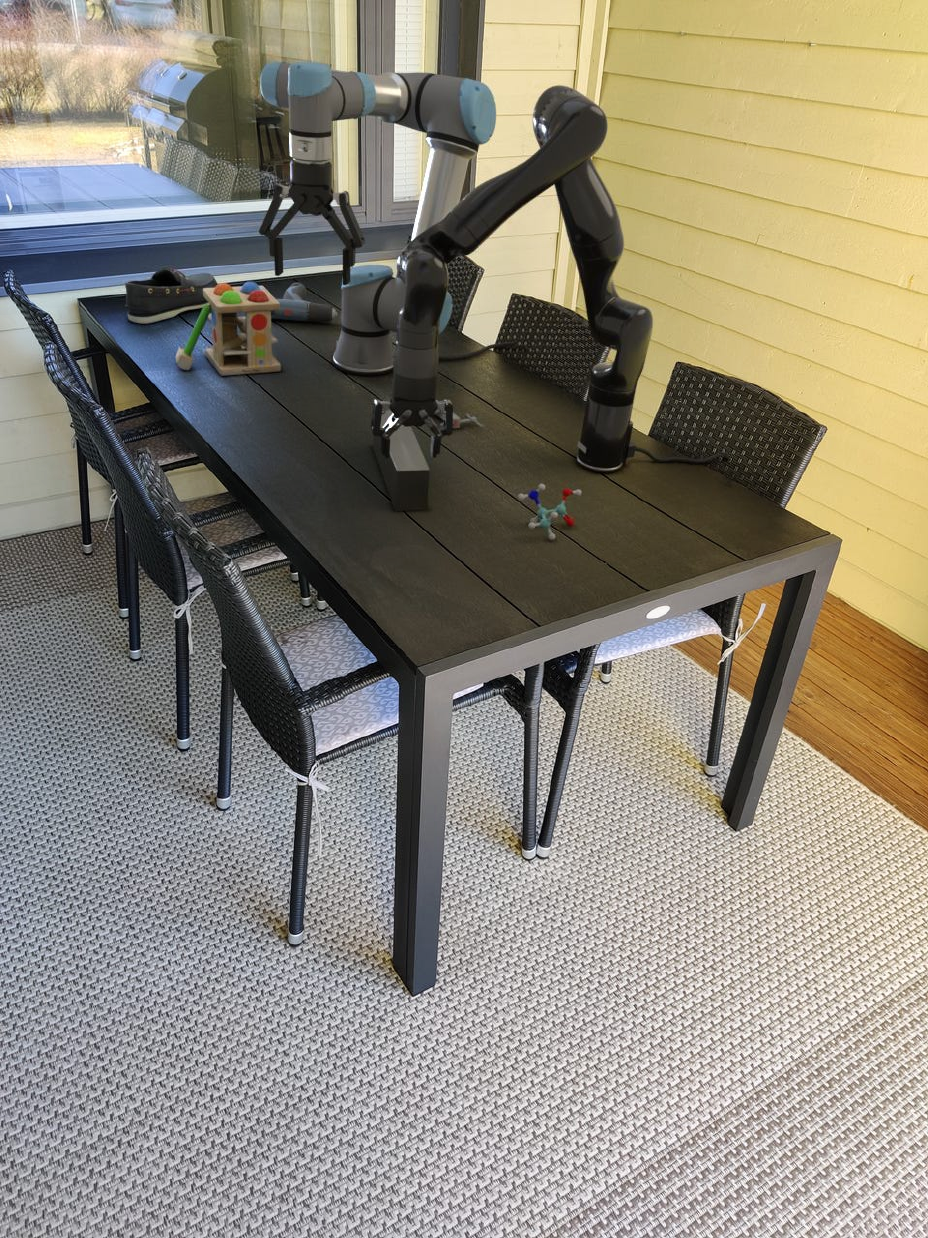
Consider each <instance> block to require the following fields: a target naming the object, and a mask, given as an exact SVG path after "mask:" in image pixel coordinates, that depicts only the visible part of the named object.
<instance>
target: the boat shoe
mask: <svg viewBox="0 0 928 1238" xmlns="http://www.w3.org/2000/svg"><path fill="white" fill-rule="evenodd" d="M217 285H218V281H217V280H216V278H215V277H214V275H213V274H211V273H208V272H202V273H196V274H191V275H187V276H186V275H185V273H183V272H181V271H180V270H177V269H175V268H170V267H166V266H165V267H162V268H160V269H158V270H157V271H155V272H154V273H153V274H152V276H151V277H150V278H149V279H141V280H127V281H126V282H125V283H124V287H125V293H126V294H125V295H126V296H125V301H126V302H125V304H124V308H126V309H127V319H128V320H129V322H133V323H137V324H152V323H155V322H160V321H163V320H167V319H170V318H174V317H175V316H177V315H179V314H180V313H183V312H185V311H190V310H197V309H203V307H204V305H208V306H211V305H210V304H209V302H208V301H207V300H206V299H205V297H204V296H203V289H204V288H215V287H216V286H217Z"/></svg>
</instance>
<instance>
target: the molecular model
mask: <svg viewBox="0 0 928 1238" xmlns="http://www.w3.org/2000/svg"><path fill="white" fill-rule="evenodd" d="M544 490H546V485H545V484H544V483H539V485H538V488H537V489H533V490H531V491H529V493H528V494H527V493H526V494H523V493H519V494H518V495H517V499H518V500H519V501H520V502H522V501H524V500H525V499H530V500H532V501H534V503H535V504H536V507H537V509H538V510H537V512H536V513H537V515H536V516H535V517H531V519H530V522H529V523H528V525H527V526H528V528H529V530H534V529H536V528H537V527H541V528H542V529H544V530H546V532H547V534H548V539H549V540H550V541H554V540H555V539H556V534H555V533H553V532H552V529H551V528H550V527H551V525H552V524H551V522H552V520H553V519H557V518H558V516H561V517H562V519H563V520H564V522H565V525H566V526H567V527H568V528H572V527H573V526H575V520H574V518H572V517H570V515H569V514H568V513H567V507H566V506H565V504H566V500H567V498H569V497H570V496H571V495H575V496H576V497H580V496H581V495H582V490H581V489H575V490H571V489H570V488H568V487H564V488H563V489H562V491H561V493H562V499H561V502H560V504H558V505H556V507H555V508H552V509H547V508H545V507H542V505H541V503H540V500H539V499H538V497H539V493H540V492H542V491H544ZM548 514H550V516H549V517H547V516H548ZM539 519H541V520H540V522H538V520H539Z"/></svg>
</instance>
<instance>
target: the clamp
mask: <svg viewBox="0 0 928 1238" xmlns="http://www.w3.org/2000/svg"><path fill="white" fill-rule="evenodd" d="M439 401H440V400H438V399H436V402H439ZM433 415H436V416H437V417H438V418H439V419H441V420H442V421H443V414H442V413H441V411H440V409H437V410H436V412H435V413H434V414H433ZM433 415H432V416H433ZM464 417H465V418H464V419H462V418H461V417H460V416H459V415H457V414H456V413H455V412H453V429H460V428H461V425H462V424H468V423H469V424H476V425H477V426H479V427H480V429H481V430H485V428H486V426H485V424H482V423H480V422H478V418H477V416H470V414H469V413H467V412H466V413H465V414H464ZM442 426H443V422H441V423H439V427H442Z"/></svg>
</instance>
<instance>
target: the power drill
mask: <svg viewBox="0 0 928 1238" xmlns="http://www.w3.org/2000/svg"><path fill="white" fill-rule="evenodd" d="M307 295H308V290H307V287H306V285H304V284H303V283H301V282H293V283H292V284H291V285H290V286H289V287H288V288H287V289H286V291H285V292H284V294H283V297H282V298H275V299H276V300H277V301H278V302H279V303H280V310H271V319H274V320H275V319H276V320H283V321H294V322H295V321H297V322H332V321H333V320H334V319H336V318H337V317H338V312H337V311H336V308H334V307H333V306H332V305H331V304H324V303H317V302H313V301H307V300H305V299H306V297H307Z"/></svg>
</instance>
